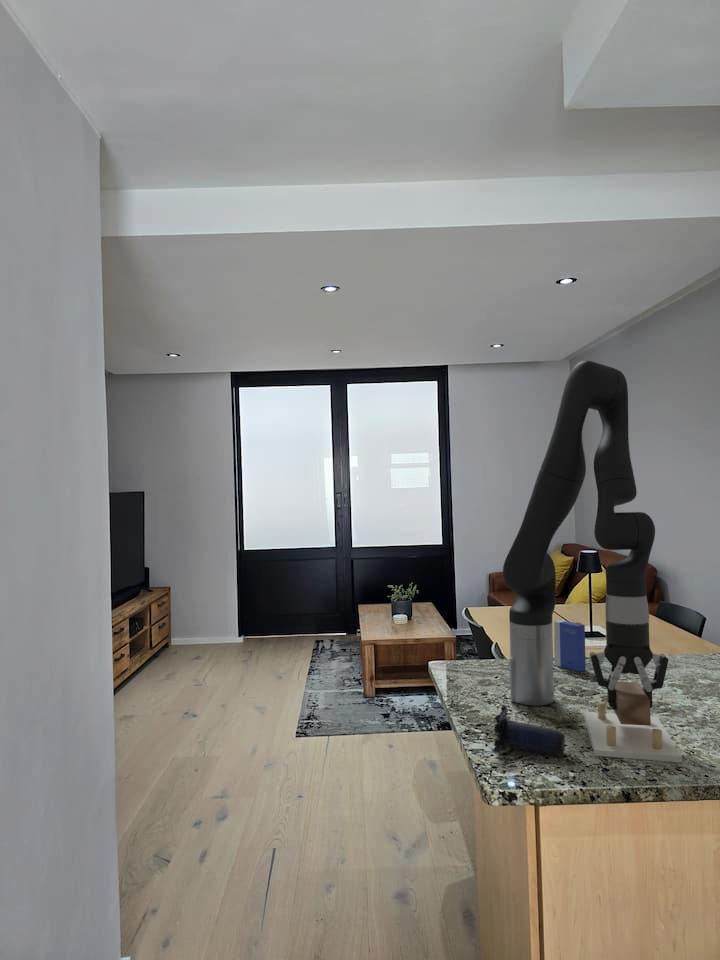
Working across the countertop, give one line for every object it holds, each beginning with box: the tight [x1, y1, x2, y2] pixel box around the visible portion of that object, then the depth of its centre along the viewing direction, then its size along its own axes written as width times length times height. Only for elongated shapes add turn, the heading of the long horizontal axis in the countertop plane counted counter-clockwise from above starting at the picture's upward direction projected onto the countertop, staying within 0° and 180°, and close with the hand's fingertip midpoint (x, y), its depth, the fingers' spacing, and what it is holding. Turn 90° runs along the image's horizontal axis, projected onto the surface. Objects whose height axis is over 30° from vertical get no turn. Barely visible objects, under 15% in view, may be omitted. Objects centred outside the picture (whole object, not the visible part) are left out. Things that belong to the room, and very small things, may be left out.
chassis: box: [583, 701, 683, 763], centre depth 122 cm, size 14×20×4 cm
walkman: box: [553, 619, 587, 673], centre depth 170 cm, size 8×3×12 cm, turn 32°
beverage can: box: [493, 704, 566, 758], centre depth 117 cm, size 9×8×12 cm
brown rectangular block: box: [613, 681, 651, 726], centre depth 122 cm, size 5×11×4 cm, turn 167°
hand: (629, 709), depth 122 cm, fingers closed on brown rectangular block, 5 cm apart
